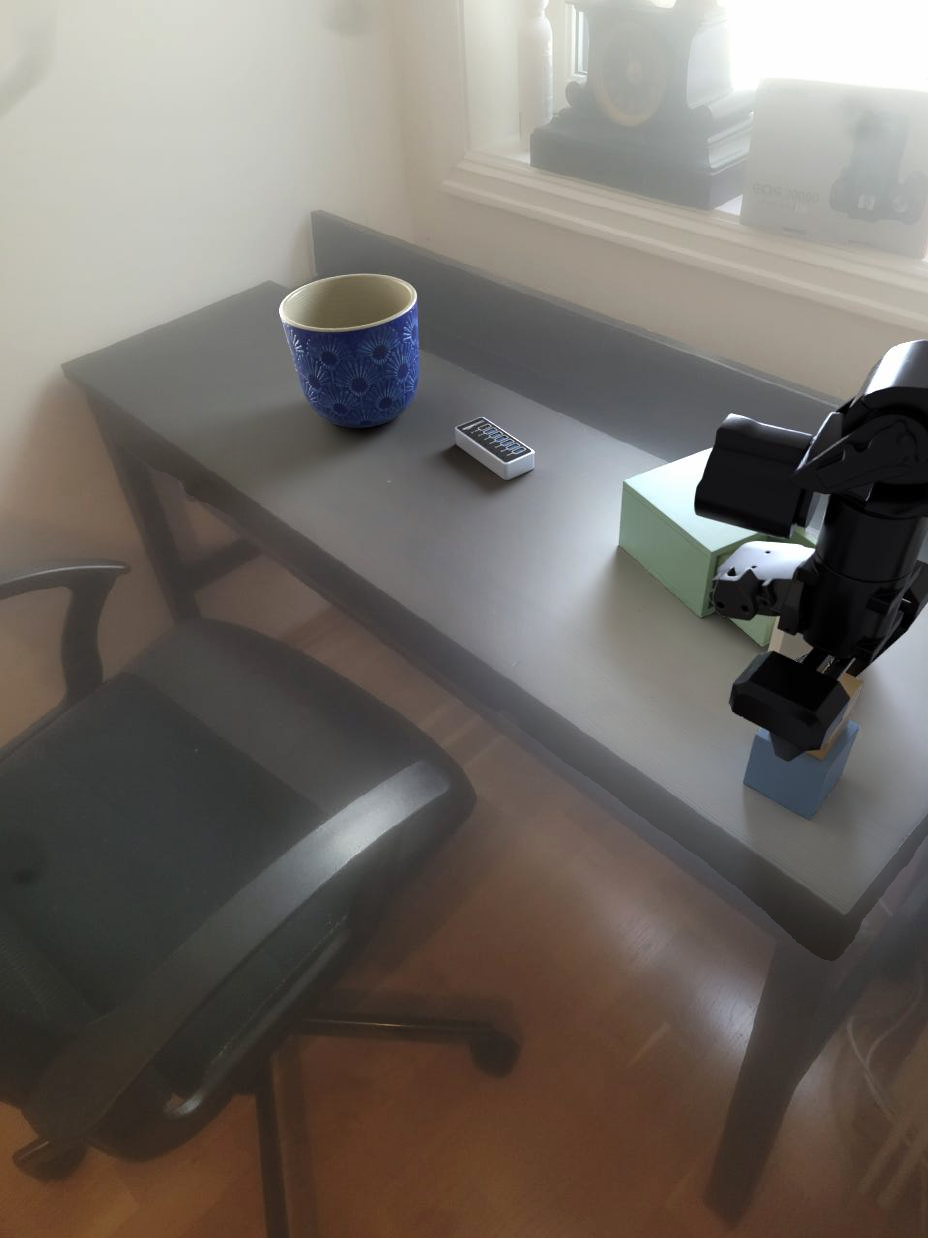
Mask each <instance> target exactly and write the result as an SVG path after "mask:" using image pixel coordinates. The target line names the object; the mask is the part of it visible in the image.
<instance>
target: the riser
mask: <svg viewBox="0 0 928 1238" xmlns="http://www.w3.org/2000/svg"><path fill="white" fill-rule="evenodd" d="M860 728H861V725H860V724H858V723H856V722H854V721H852V720H851V719H850V720H849V723H848V725H847V727H846V729H845V730H844V731H843V733H842V734H841V736H840V737H839V738H838V740H837V741H836V743H835V744H834V745H833V747H832V748H831V749H830V751H829V752H828V754H827V755H826V756H825V758H824V759H823V760H822V761H821V760H819V759H817V758H815V757H813V756H812V755H810V754H808V753H806V752H804V753H802V754H801V755H799V756H798V757H796V758H795V759H793V760H792V761H790V762H787V761H785V760H783V759H781V758H779V757H777V756H776V755H775V753H774V749H773V746H772V742H771V738H770V734H769V731H767V730H765V729H764V728H762V727H760V728H759V729H758V730H757V731H756V733H755V734H754V738H753V740H752V745H751V749H750V753H749V758H748V759H747V760H748V761H747V763H746V764H747V765H746V768H745V772H744V776H743V780H742V783H743V784H745V785H746V786H748V787H750V788H752V789H753V790H755V791H757V792H759V793H761V794H762V795H763V796H766V797H768V798H769V799H771V800H773V801H775V802H776V803H778V804H780V805H782V806H783V807H785V808H787V809H789V810H791V811H792V812H794V813H796V814H798V815H799V816H801V817H803V818H804V819H807V820H808V821H810V820H811V819H812V818H813V816H814V815H815V814H816V812H817V811H818V809H819V808H820V807H821V805H822V804H823V802H824V800H825V799H826V798H827V797H828V795H829V794H830V792H831V790H832V789H833V788H834V786H835V785H836V783H837V782H838V780H839V779H840V778H841V776H842V775H843V772H844V769H845V767H846V765H847V761H848V759H849V756H850V754H851V751H852V748H853V747H854V743H855V741H856V738H857V735H858V733H859V730H860Z"/></svg>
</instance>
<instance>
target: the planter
mask: <svg viewBox="0 0 928 1238" xmlns="http://www.w3.org/2000/svg"><path fill="white" fill-rule="evenodd" d="M418 310H419V309H418V293H417V291H416V289H415V288H414V286H412V285H411V284H410V283H409V282H407V281H405V280H403V279H400V278H398V277H395V276H391V275H385V274H384V275H383V274H377V273H351V274H344V275H336V276H331V277H327V278H323V279H318V280H315V281H313V282H310V283H308V284H305V285H303V286H300V287H299V288H297V289H295V290H294V291H292V292H290V293H289V294H288V295H287V296H286V297H285V298H284V299H283V300H282V302H281V303H280V305H279V316H280V320H281V323H282V326H283V330H284V334H285V337H286V341H287V344H288V348H289V351H290V354H291V358H292V361H293V364H294V369H295V371H296V375H297V378H298V382H299V385H300V388H301V391H302V393H303V395H304V397H305V399H306V400H307V402H308V404H309V405H310V407H311V408H312V409H313V410H314V412H315V413H316V414H317V415H318V416H320V417H321V418H323V419H324V420H326V421H327V422H329V423H331V424H333V425H336V426H339V427H344V428H350V429H366V428H374V427H377V426H380V425H384V424H386V423H389V422H390V421H392V420H394V419H395V418H398V417H399V416H400V415H402V413H404V412H405V410H406V409H407V408H408V407H409V406H410V405H411V403H412V401H413V400H414V398H415V395H416V393H417V390H418V387H419V386H418V385H419V379H420V346H419V345H420V343H419V318H418V317H419V312H418Z"/></svg>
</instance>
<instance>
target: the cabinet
mask: <svg viewBox="0 0 928 1238" xmlns="http://www.w3.org/2000/svg"><path fill="white" fill-rule="evenodd" d="M712 448H713V446H712V447H710V448H707V449H704V450H701V451H699V452H696V453H694V454H692V455H688V456H685V457H683V458H680V459H677V460H675V461H672V462H669V463H666V464H664V465H661V466H659V467H655V468H653V469H650V470H647V471H644V472H642V473H640V474H636V475H635V476H632V477H629V478H626V479H624V480H622V493H621V503H620V504H621V505H620V519H619V532H618V545H619V546H620V547H621V548H622V549H623V550H624V551H625V552H626V553H627V554H628V555H630V556H631V557H632V558H633V559H634V560H635V561H636V562H637V563H638V564H640V565H641V566H642V567H643V568H644V569H645V570H646V571H647V572H649V573H650V574H651V575H652V576H653V577H654V578H655V579H656V580H657V581H659V582H660V583H661V584H662V586H664V588H667V590H668V591H669V592H670V593H672V594H673V596H675V597H676V598H677V599H678V600H680V602H682V603H683V604H684V605H685V606H686V607H687V608H688V609H690V610H691V611H692V612H693V613H694V614H695V615H696V616H697V617H698V618H700V619H702V618H704V617H707V616H709V615H711V614H713V613H715V612H716V610H715V606H714V605H713V604H712V603H711V602H710V601H709V600H710V597H709V593H710V592H711V588H712V579H713V577H714V571H715V565H716V559H717V556H718V555H721V554H723V553H726V552H728V551H730V550H733V549H735V548H738V547H740V546H741V545H743V544H745V543H748V542H752V541H754V540H757V539H759V538H761V537H764V536H766V535H765V534H762V533H758V532H754V531H751V530H747V529H744V528H740V527H736V526H733V525H729V524H726V523H722V522H718V521H715V520H711V519H707V518H704V517H700V516H697V515H696V514H695V511H694V499H695V492H696V487H697V485H698V483H699V482H700V480H701V479H702V476H703V472H704V469H705V466H706V463H707V460H708V458H709V455H710V453H711V450H712ZM796 525H797V524H796ZM800 528H802V527H800ZM802 529H803V530H804V531H806V530H807V528H802ZM716 613H717V612H716Z"/></svg>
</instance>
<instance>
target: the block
mask: <svg viewBox="0 0 928 1238" xmlns="http://www.w3.org/2000/svg"><path fill="white" fill-rule="evenodd" d="M827 667H829V664H828V665H827ZM827 667H826V668H825V669H824V670H826V669H827ZM824 670H823V672H822V673H824ZM839 681H840V683H841V684H842V686H843V687H844V689H845V690H846V692H847V693H848V695H849V696H850V701H849V704H848V707H847V710H846V711H845V713H844V715H843V717H842V718H843V719H842V721H841V722H840V724H839V725H838V726H837V728H836V729H835V730H834V732H833V733H832V735H831V736H830V737H829V739H828V740H827V741H826V743H825V744H824V745H823V747H822V748H821V749H820V750H815V751H805V752H806V753H808V754H810V755H812V756H813V757H815V758H817V759H819V760H821V761H822V760H823V759H824V758H825V756H826V755H827V754H828V752H829V751H830V749H831V748H832V747H833V745H834V744H835V743H836V741H837V740H838V738H839V737H840V736H841V734H842V733H843V731H844V730H845V729H846V727H847V725H848V723H849V720H850V721H851V718H852V714H853V712H854V709H855V706H856V703H857V701H858V699H859V695H860V693H861V690H862V687H863V685H864V680H863V679H860V678H858V677H854V676H851V675H849V674H847V673H844V674H843V676H842V677H841V678H840V680H839Z"/></svg>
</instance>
